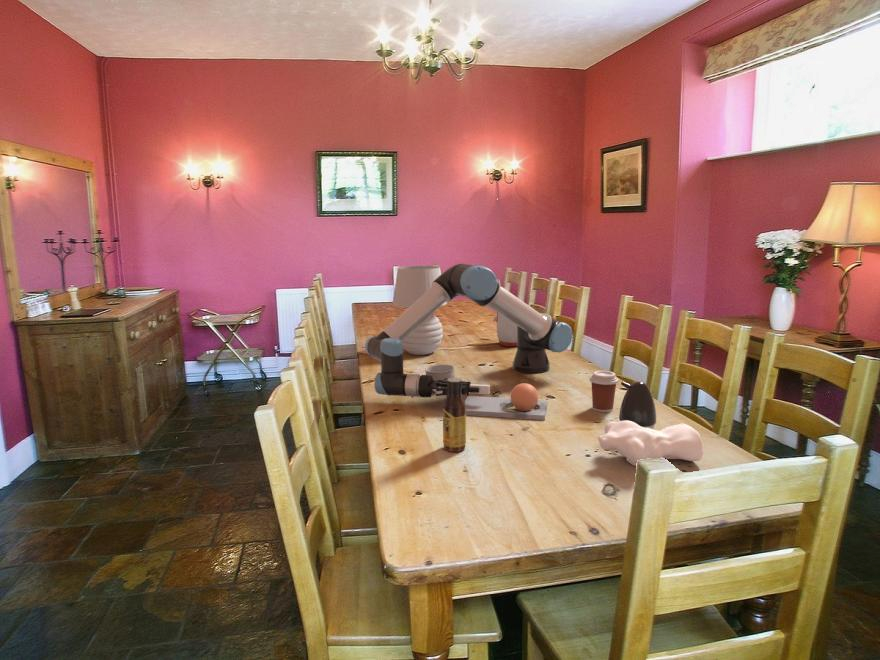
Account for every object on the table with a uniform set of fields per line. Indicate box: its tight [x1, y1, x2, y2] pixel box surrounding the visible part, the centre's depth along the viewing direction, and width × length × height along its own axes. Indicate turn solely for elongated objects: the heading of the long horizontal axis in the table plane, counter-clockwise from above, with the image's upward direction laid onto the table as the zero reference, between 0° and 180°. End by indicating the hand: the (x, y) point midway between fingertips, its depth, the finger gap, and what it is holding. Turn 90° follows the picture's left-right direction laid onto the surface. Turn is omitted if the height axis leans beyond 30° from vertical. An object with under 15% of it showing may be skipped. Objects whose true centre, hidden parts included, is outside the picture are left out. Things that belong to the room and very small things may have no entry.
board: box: [464, 395, 548, 421], centre depth 187 cm, size 27×15×2 cm, turn 76°
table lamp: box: [392, 265, 448, 356], centre depth 265 cm, size 25×25×40 cm
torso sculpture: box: [597, 420, 704, 467], centre depth 146 cm, size 18×10×25 cm
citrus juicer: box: [492, 312, 517, 347], centre depth 280 cm, size 16×17×20 cm
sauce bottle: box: [442, 377, 467, 453], centre depth 154 cm, size 6×6×20 cm
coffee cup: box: [588, 370, 620, 413], centre depth 185 cm, size 9×9×12 cm
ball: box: [510, 382, 539, 412], centre depth 185 cm, size 9×9×9 cm
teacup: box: [424, 363, 456, 381], centre depth 212 cm, size 14×11×8 cm
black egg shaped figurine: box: [618, 381, 657, 429], centre depth 164 cm, size 10×10×15 cm
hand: (489, 389), depth 187 cm, fingers closed
